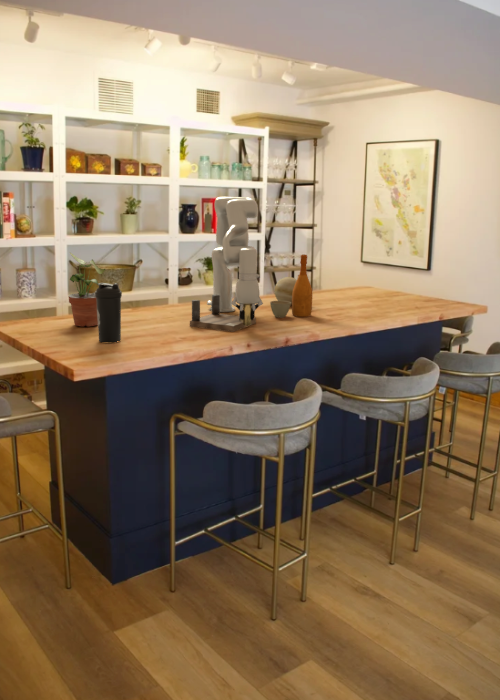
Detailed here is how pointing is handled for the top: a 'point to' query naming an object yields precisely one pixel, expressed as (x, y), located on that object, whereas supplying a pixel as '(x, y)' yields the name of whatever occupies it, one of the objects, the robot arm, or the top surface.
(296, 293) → the wine bottle
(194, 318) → the stool seat
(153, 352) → the top surface
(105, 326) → the water bottle
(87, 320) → the potted plant
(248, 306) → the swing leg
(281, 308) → the flower pot
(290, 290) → the decorative ball
